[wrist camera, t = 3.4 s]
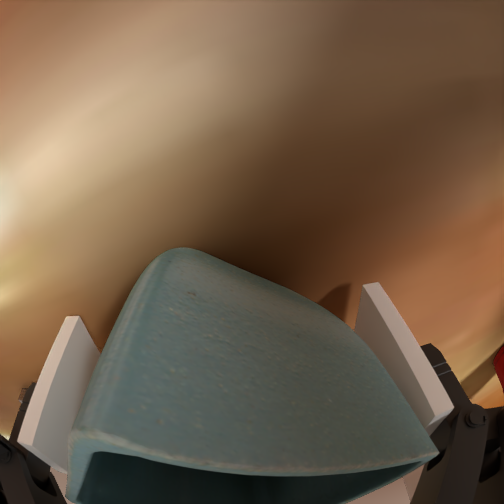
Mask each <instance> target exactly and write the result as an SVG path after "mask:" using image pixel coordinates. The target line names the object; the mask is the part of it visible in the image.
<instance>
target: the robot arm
mask: <svg viewBox="0 0 504 504" xmlns="http://www.w3.org/2000/svg"><path fill="white" fill-rule="evenodd" d="M354 330H355V332H356V334H357V335H359V336H360V338H361V339H362V340H363V341H364V342H365V343H366V344H367V345H368V347H369V348H370V349H371V350H372V352H373V353H374V354H375V355H376V357H377V358H378V360H379V361H380V362H381V364H382V365H383V367H384V368H385V369H386V371H387V372H388V374H389V375H390V377H391V378H392V380H393V381H394V383H395V384H396V385H397V387H398V388H399V390H400V391H401V393H402V395H403V396H404V398H405V399H406V401H407V402H408V404H409V405H410V407H411V408H412V410H413V411H414V413H415V414H416V416H417V418H418V419H419V421H420V423H421V424H422V426H423V427H424V429H425V430H426V432H427V433H428V435H429V437H430V438H431V440H432V442H433V443H434V445H435V446H436V448H437V449H438V451H439V454H438V455H437V456H436V457H434V458H433V459H431V460H430V461H428V462H427V463H425V464H424V467H423V470H422V473H421V476H420V479H419V481H418V484H417V487H416V490H415V492H414V495H413V497H412V500H411V502H410V504H504V406H502V407H496V408H489V409H484V408H483V407H482V406H479V405H477V404H472V403H471V402H470V400H469V399H468V397H467V395H466V394H465V392H464V390H463V388H462V387H461V385H460V383H459V381H458V380H457V378H456V376H455V375H454V373H453V371H451V368H450V366H449V365H448V363H446V360H445V358H444V357H443V355H442V353H441V352H440V351H439V350H438V349H437V348H436V347H434V346H433V345H432V344H431V343H429V344H426V345H423V346H419V344H418V342H417V341H416V339H415V337H414V336H413V334H412V333H411V331H410V329H409V328H408V326H407V325H406V323H405V322H404V320H403V318H402V317H401V315H400V314H399V312H398V311H397V309H396V308H395V306H394V305H393V303H392V302H391V300H390V298H389V297H388V296H387V294H386V293H385V291H384V290H383V288H382V287H381V285H380V284H379V282H376V283H370V284H364V285H363V286H362V292H361V298H360V303H359V309H358V314H357V319H356V324H355V329H354ZM100 355H101V354H100V352H99V350H98V348H97V347H96V345H95V343H94V342H93V340H92V338H91V336H90V334H89V333H88V331H87V329H86V327H85V325H84V323H83V322H82V320H81V318H80V316H66V318H65V320H64V322H63V324H62V326H61V329H60V331H59V333H58V335H57V337H56V339H55V341H54V344H53V346H52V348H51V350H50V353H49V355H48V357H47V359H46V362H45V364H44V367H43V369H42V371H41V374H40V376H39V379H38V381H37V383H32V384H31V385H30V387H29V388H28V389H27V390H26V392H25V395H24V398H23V400H22V403H21V406H20V408H19V410H20V411H18V414H17V417H16V420H15V423H14V426H13V429H12V432H11V435H10V438H9V441H8V440H7V439H6V438H4V437H3V436H2V435H1V434H0V504H67V503H66V501H65V499H64V497H63V495H62V493H61V491H60V489H59V486H58V484H57V482H56V480H55V478H54V476H53V474H52V473H51V472H50V467H52V468H54V469H55V470H57V471H58V472H61V473H65V474H67V468H68V464H67V462H68V461H67V460H68V445H67V444H68V438H69V434H70V431H71V428H72V426H73V423H74V420H75V418H76V415H77V413H78V410H79V407H80V405H81V402H82V399H83V397H84V394H85V392H86V389H87V386H88V384H89V381H90V379H91V376H92V374H93V371H94V369H95V366H96V364H97V362H98V359H99V357H100Z"/></svg>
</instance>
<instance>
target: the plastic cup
mask: <svg viewBox="0 0 504 504" xmlns="http://www.w3.org/2000/svg"><path fill="white" fill-rule="evenodd" d="M493 364H494V367H495V371H496V373H497V376H498V378H499V381H500V383H501V385H502V388H503V393H504V345H503V347H502V348H501V349H500V350H499V352H498V353H497V355H496V356H495V359H494V361H493Z"/></svg>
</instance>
